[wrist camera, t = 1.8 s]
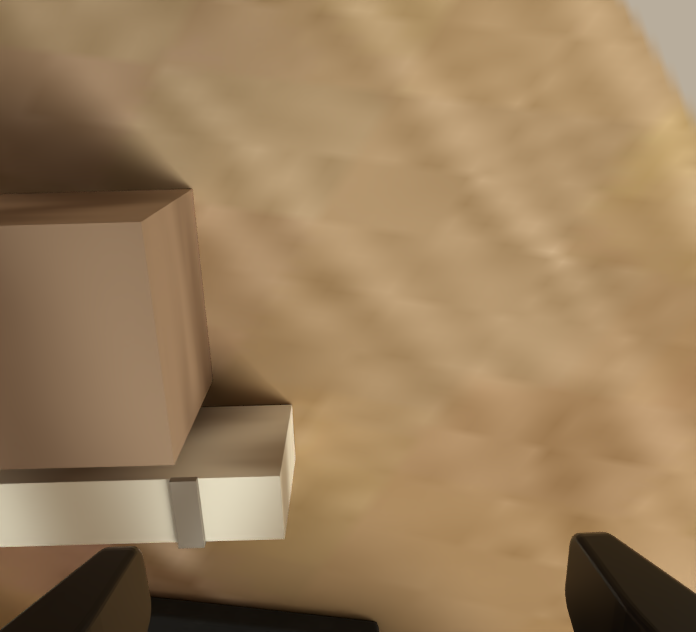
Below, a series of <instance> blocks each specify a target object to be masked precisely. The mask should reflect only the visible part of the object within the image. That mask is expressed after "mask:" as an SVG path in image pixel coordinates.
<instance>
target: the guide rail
mask: <svg viewBox="0 0 696 632" xmlns="http://www.w3.org/2000/svg"><path fill="white" fill-rule="evenodd" d="M294 465H295V445H294V430H293V415H292V405H264V406H229V407H200V409H199V412H198V414H197V416H196V418H195V420H194V423H193V425H192V427H191V429H190V432H189V434H188V436H187V438H186V440H185V443H184V445H183V447H182V449H181V451H180V454H179V456H178V458H177V460H176V462H175V465H157V466H118V467H80V468H41V469H3V470H0V547H20V546H56V545H91V544H127V543H163V542H178V548H205V544H206V541H234V540H270V539H285V533H286V525H287V518H288V510H289V503H290V495H291V488H292V480H293V473H294Z"/></svg>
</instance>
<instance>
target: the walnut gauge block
mask: <svg viewBox="0 0 696 632" xmlns="http://www.w3.org/2000/svg"><path fill="white" fill-rule="evenodd" d="M212 381H213V375H212V366H211V357H210V347H209V338H208V329H207V319H206V310H205V301H204V291H203V282H202V273H201V263H200V254H199V245H198V235H197V226H196V217H195V207H194V198H193V189H168V190H130V191H93V192H55V193H18V194H0V470H3V469H41V468H80V467H118V466H157V465H175V462H176V460H177V458H178V456H179V454H180V451H181V449H182V447H183V445H184V443H185V440H186V438H187V436H188V434H189V432H190V429H191V427H192V425H193V423H194V420H195V418H196V416H197V414H198V412H199V409H200V407H201V405H202V403H203V401H204V398H205V396H206V394H207V392H208V390H209V387H210V385H211V383H212Z"/></svg>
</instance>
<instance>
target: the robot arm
mask: <svg viewBox="0 0 696 632" xmlns="http://www.w3.org/2000/svg"><path fill="white" fill-rule="evenodd" d="M565 597H566V604H567V609H568V613H569V616H570V619H571V623H572V626H573V630H574V632H696V593H694V592H693V591H691V590H690V589H689V588H687V587H686V586H684V585H683V584H681V583H680V582H679V581H677V580H676V579H674V578H673V577H671V576H670V575H669V574H667V573H666V572H664V571H663V570H661V569H660V568H659V567H657V566H656V565H654V564H653V563H651V562H650V561H649V560H647V559H646V558H644V557H643V556H641V555H640V554H639V553H637V552H636V551H634V550H633V549H631V548H630V547H629V546H627V545H626V544H624V543H623V542H621V541H620V540H619V539H617V538H616V537H614V536H613V535H611V534H609V533H606V532H590V533H576V534H575V535H574V536H572V539H571V541H570V546H569V556H568V565H567V574H566V584H565ZM150 616H151V598H150V593H149V587H148V581H147V575H146V570H145V564H144V558H143V555H142V552H141V550H140V549H139V548H137V547H134V546H129V547H108V548H104V549H102V550H101V551H99V552H98V553H97V554H95V555H94V556H93V557H92V558H90V559H89V560H88V561H87V562H85V563H84V564H83V565H82V566H80V567H79V568H78V569H76V570H75V571H74V572H73V573H71V574H70V575H69V576H68V577H66V578H65V579H64V580H63V581H61V582H60V583H59V584H57V585H56V586H55V587H54V588H52V589H51V590H50V591H49V592H47V593H46V594H45V595H44V596H42V597H41V598H40V599H39V600H37V601H36V602H35V603H33V604H32V605H31V606H30V607H28V608H27V609H26V610H25V611H23V612H22V613H21V614H20V615H18V616H17V617H16V618H14V619H13V620H12V621H11V622H9V623H8V624H7V625H6V626H4V627H3V628H2V629H1V630H0V632H147V631H148V627H149V622H150Z"/></svg>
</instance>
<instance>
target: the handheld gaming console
mask: <svg viewBox="0 0 696 632" xmlns="http://www.w3.org/2000/svg"><path fill="white" fill-rule="evenodd" d="M150 598H151V616H150V622H149V627H148V631H147V632H379V628H378V625H377V623H376V622H373V621H364V620H355V619H346V618H337V617H328V616H319V615H310V614H300V613H291V612H282V611H273V610H264V609H255V608H246V607H237V606H228V605H219V604H210V603H200V602H191V601H182V600H173V599H164V598H155V597H150Z"/></svg>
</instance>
